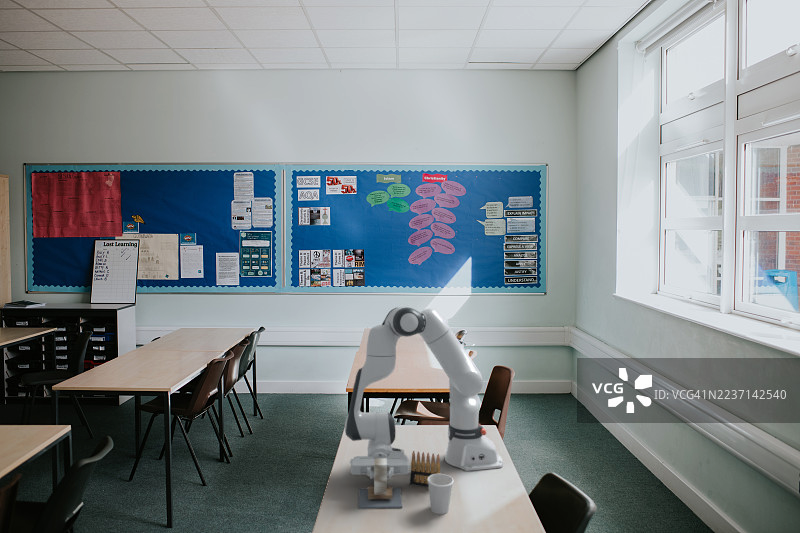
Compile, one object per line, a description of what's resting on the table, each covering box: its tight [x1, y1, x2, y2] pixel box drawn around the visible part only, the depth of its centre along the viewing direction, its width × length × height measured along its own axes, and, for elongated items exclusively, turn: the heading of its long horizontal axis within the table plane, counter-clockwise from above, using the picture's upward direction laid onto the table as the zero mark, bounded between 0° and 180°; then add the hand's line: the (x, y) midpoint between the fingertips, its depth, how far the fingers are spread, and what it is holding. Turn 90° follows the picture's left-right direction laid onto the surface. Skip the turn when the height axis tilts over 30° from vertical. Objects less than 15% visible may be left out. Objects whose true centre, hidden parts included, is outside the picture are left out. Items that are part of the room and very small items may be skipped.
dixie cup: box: [427, 473, 454, 515], centre depth 166 cm, size 8×8×10 cm
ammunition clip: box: [409, 450, 441, 488], centre depth 181 cm, size 11×2×12 cm, turn 75°
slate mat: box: [358, 487, 403, 510], centre depth 172 cm, size 14×12×1 cm
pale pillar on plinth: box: [367, 458, 393, 499], centre depth 171 cm, size 8×6×11 cm
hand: (380, 476), depth 171 cm, fingers closed on pale pillar on plinth, 4 cm apart
